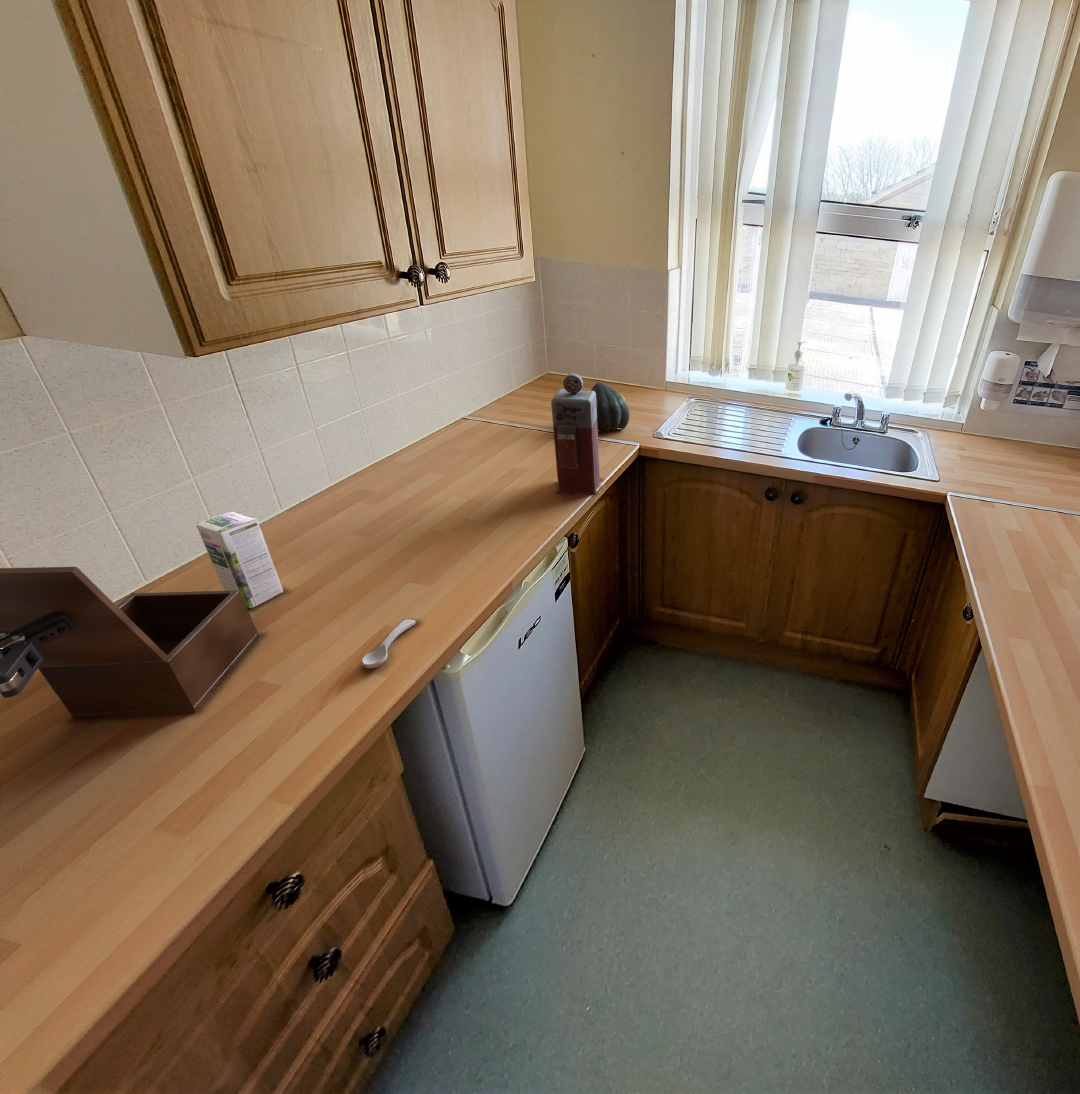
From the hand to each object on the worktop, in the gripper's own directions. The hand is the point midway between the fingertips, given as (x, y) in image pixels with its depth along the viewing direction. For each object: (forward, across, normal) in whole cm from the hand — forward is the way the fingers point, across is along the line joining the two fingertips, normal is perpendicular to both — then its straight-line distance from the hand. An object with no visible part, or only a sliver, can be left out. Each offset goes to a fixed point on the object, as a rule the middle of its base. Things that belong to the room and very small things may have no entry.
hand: (65, 619), depth 63 cm
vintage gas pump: (+87, -21, +18) cm, 91 cm away
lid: (+1, +3, +1) cm, 3 cm away
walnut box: (+9, +6, +18) cm, 21 cm away
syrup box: (+28, +12, +18) cm, 35 cm away
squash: (+131, -10, +18) cm, 133 cm away
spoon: (+22, -18, +18) cm, 34 cm away
